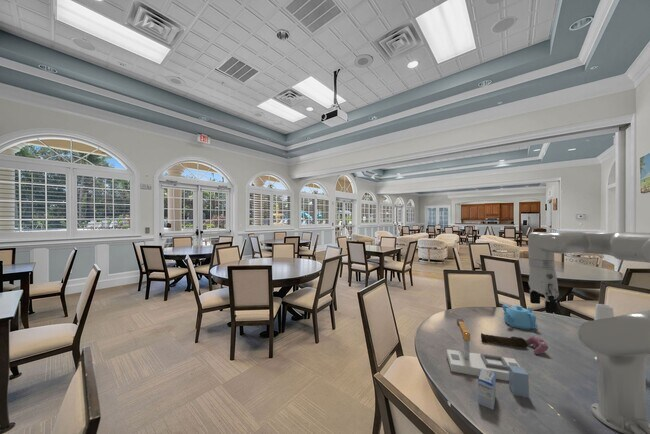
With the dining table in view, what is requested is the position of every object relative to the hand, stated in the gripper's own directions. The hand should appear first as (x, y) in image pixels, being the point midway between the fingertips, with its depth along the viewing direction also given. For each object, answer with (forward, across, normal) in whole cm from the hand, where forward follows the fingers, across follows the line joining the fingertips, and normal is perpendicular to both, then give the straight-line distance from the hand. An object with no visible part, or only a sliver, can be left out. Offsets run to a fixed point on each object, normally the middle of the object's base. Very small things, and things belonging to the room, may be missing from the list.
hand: (542, 307), depth 94 cm
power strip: (+28, +3, +20) cm, 35 cm away
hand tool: (+28, +27, +3) cm, 40 cm away
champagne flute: (+28, +21, -33) cm, 48 cm away
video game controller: (+28, +24, -9) cm, 38 cm away
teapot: (+28, +54, -16) cm, 63 cm away
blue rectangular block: (+28, -10, +13) cm, 32 cm away
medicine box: (+28, -17, +26) cm, 42 cm away
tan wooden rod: (+17, +10, +26) cm, 32 cm away
